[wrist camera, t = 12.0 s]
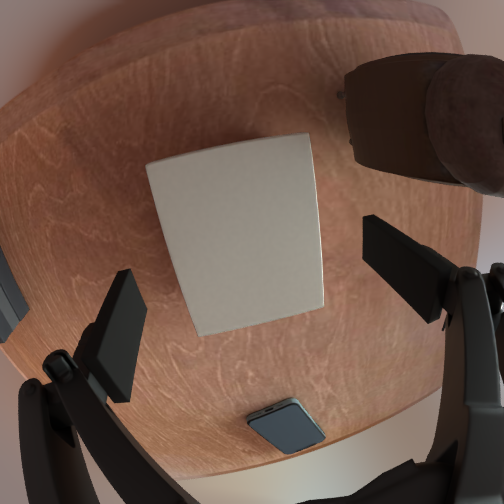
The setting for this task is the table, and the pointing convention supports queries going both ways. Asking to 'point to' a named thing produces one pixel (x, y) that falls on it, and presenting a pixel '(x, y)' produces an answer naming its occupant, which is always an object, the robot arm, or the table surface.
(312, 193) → the light grey rectangular slab
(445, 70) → the alarm clock
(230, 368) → the table surface
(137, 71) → the table surface
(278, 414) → the smartphone
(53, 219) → the table surface
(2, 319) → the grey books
